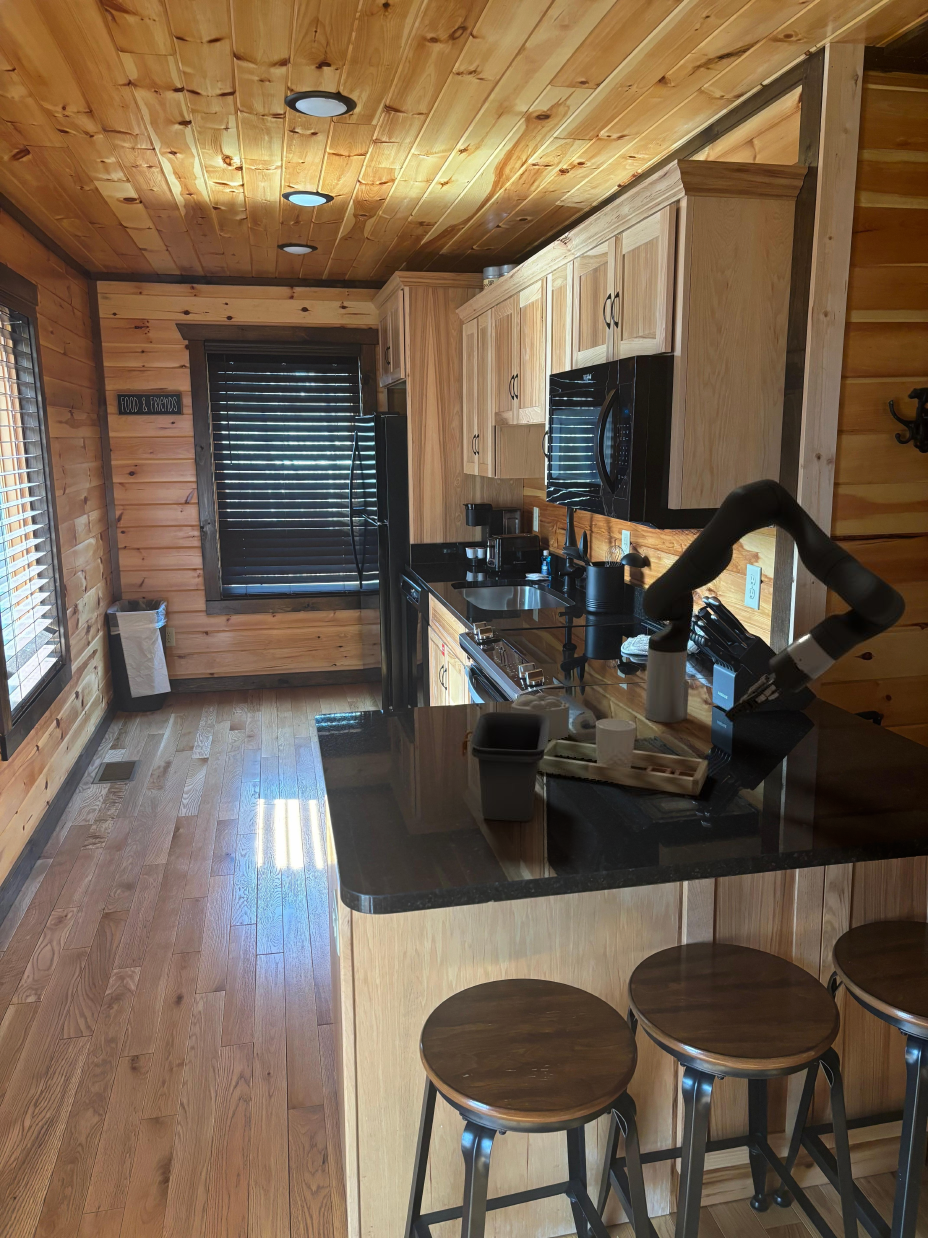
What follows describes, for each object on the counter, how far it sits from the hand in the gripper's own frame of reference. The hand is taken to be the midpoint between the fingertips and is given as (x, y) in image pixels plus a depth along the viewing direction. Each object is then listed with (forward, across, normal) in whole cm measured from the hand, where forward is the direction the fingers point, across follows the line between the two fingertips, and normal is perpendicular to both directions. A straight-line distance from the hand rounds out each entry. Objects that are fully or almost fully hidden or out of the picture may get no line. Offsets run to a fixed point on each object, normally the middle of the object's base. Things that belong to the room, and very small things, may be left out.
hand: (728, 717), depth 169 cm
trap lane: (+24, 0, -4) cm, 25 cm away
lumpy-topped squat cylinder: (+40, -18, -20) cm, 49 cm away
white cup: (+25, 0, -5) cm, 26 cm away
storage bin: (+36, +25, -15) cm, 46 cm away
